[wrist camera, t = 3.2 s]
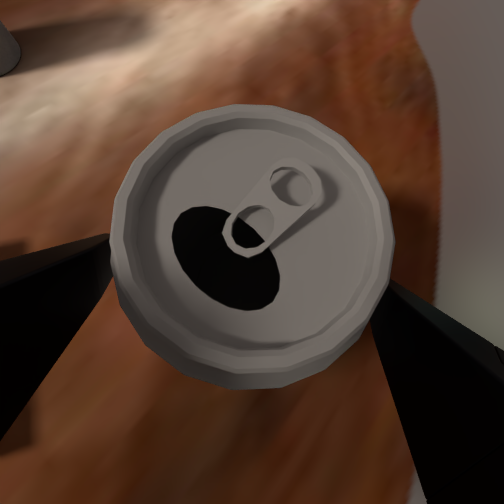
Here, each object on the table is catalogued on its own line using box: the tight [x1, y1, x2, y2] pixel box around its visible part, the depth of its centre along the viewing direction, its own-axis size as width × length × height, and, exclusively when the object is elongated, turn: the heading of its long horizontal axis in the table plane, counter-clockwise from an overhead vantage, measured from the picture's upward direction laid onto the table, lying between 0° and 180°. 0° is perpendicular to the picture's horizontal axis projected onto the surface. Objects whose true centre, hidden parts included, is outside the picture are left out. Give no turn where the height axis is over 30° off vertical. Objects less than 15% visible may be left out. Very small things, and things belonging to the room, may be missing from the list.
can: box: [109, 104, 395, 390], centre depth 11 cm, size 8×8×12 cm
